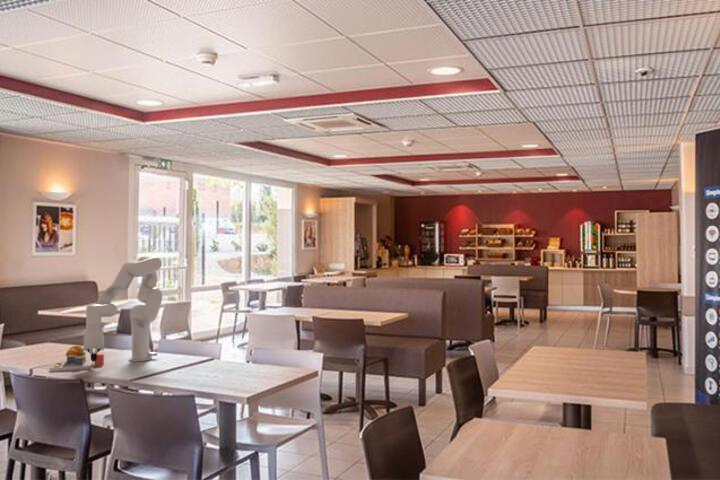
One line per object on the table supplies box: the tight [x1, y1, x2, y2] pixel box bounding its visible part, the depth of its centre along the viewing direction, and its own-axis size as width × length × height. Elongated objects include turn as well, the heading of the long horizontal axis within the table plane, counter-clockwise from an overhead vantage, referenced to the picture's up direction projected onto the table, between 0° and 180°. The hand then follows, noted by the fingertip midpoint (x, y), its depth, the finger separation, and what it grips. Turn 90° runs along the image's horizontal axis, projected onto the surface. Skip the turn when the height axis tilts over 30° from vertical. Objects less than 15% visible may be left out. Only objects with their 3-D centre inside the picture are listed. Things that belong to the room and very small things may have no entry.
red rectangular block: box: [93, 352, 105, 367], centre depth 340 cm, size 4×4×6 cm
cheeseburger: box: [65, 345, 87, 360], centre depth 350 cm, size 10×11×10 cm
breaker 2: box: [75, 357, 84, 365], centre depth 330 cm, size 4×3×4 cm
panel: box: [49, 359, 94, 373], centre depth 332 cm, size 20×12×3 cm, turn 106°
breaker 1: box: [66, 355, 76, 363], centre depth 334 cm, size 4×3×4 cm
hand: (93, 361), depth 332 cm, fingers closed
